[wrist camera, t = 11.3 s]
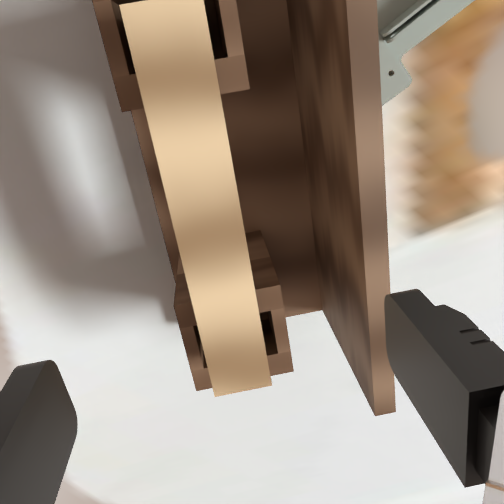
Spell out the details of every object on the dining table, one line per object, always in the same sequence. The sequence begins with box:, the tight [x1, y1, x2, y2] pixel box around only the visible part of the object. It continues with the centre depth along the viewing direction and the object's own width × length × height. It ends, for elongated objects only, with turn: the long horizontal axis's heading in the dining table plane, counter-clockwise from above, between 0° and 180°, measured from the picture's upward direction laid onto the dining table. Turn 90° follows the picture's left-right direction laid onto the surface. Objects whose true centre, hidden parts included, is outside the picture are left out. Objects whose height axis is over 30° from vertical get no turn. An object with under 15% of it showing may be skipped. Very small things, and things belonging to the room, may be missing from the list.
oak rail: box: [119, 0, 272, 397], centre depth 23 cm, size 18×3×8 cm, turn 9°
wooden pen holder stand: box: [92, 0, 396, 416], centre depth 27 cm, size 26×12×14 cm, turn 9°
